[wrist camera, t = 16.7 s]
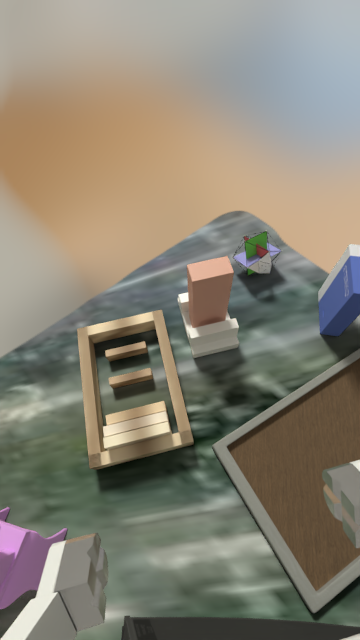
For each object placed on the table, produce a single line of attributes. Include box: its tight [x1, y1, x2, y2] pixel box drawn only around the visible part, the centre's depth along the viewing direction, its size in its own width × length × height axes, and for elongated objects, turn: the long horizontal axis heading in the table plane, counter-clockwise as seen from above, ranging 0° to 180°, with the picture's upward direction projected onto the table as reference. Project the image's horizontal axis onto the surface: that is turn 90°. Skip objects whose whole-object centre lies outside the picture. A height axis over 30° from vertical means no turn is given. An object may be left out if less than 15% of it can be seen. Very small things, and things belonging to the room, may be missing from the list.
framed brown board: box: [212, 349, 360, 614], centre depth 40 cm, size 19×2×30 cm
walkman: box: [318, 244, 360, 336], centre depth 44 cm, size 8×3×12 cm, turn 170°
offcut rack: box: [77, 310, 194, 470], centre depth 43 cm, size 13×20×5 cm, turn 13°
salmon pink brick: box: [187, 256, 234, 328], centre depth 42 cm, size 5×2×13 cm, turn 103°
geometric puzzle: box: [232, 231, 282, 276], centre depth 52 cm, size 7×7×8 cm
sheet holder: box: [178, 293, 239, 358], centre depth 48 cm, size 7×10×4 cm
